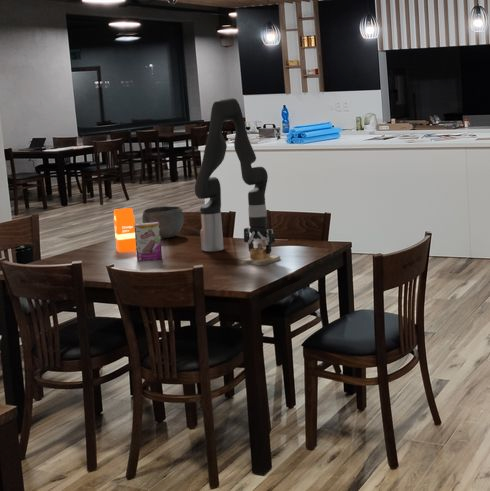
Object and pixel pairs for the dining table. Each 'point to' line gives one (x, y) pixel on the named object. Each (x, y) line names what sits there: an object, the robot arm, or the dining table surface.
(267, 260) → the wooden peg stand
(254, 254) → the small wooden box
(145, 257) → the candy bar box
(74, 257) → the dining table surface
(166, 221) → the bowl
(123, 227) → the orange juice
